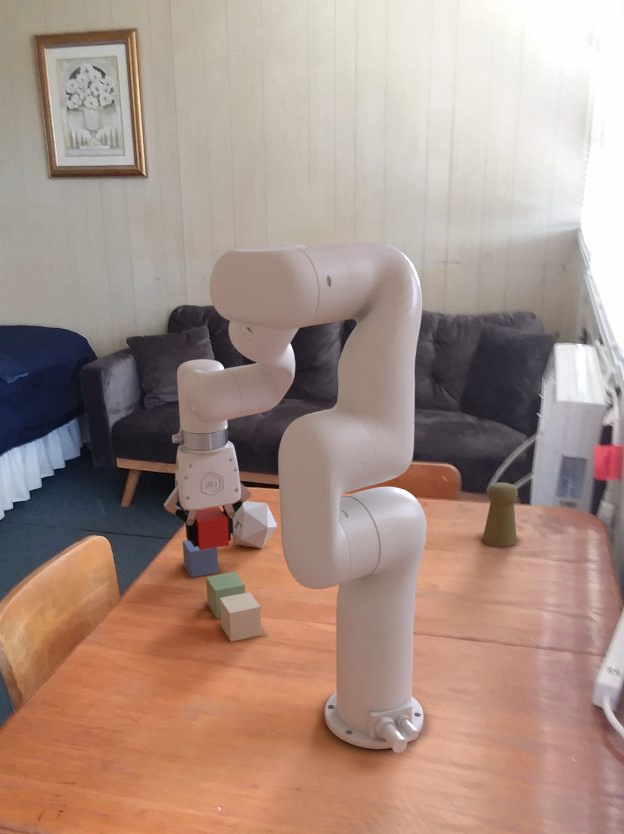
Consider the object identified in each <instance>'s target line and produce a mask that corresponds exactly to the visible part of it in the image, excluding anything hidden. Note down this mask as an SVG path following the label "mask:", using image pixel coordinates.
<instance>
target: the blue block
mask: <svg viewBox="0 0 624 834" xmlns="http://www.w3.org/2000/svg"><path fill="white" fill-rule="evenodd" d="M182 552H183V566H184V568H185V569H186V571H187V573H188V575H189V576H190V578H197V577H203V576H207V575H213V574H219V556H218V555H219V554H218V547H215V548H210V549H204V550H200V549H199V548H198V546H197V547H194V546H193V544H192V543H191V541H188V540H187V539H186V540H182Z"/></svg>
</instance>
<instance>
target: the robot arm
mask: <svg viewBox="0 0 624 834" xmlns="http://www.w3.org/2000/svg"><path fill="white" fill-rule="evenodd" d="M208 285H209V296H210V300H211V303H212V305H213V307H214V309H215V311H216V312H217V313H218V314H219V315H220V317H222V318H223V319H225V320H227V321H229V323H228V337H229V339H230V342H231V344H232V345H233V347H234V348H235V349H236V350H237V351H238V353H240V354H241V355H242V356H244V357H245V358H247V359H248V360H251V361H252V362H255V363H251V364H245V365H244V364H243V365H238V366H232V367H226V368H225V367H224V365H223V364H222V363H221V362H220V361H218V360H214V359H207V358H205V359H204V358H201V359H200V358H199V359H192V360H188V361H185V362H182V363H181V364H179V366H178V368H177V371H176V381H177V382H176V383H177V384H176V385H177V397H178V398H177V399H178V410H179V411H178V413H179V428H178V430H179V431H178V433H176V434H172V435H171V440H172V443H173V444H179V445H178V447H177V451H176V457H175V458H176V459H175V470H174V471H175V475H174V477H175V479H174V485H175V486H174V489H173V490H172V492H171V493H170V495H169V496H168V498H167V499H166V500H165V502H164V503H163V507H164V509H165V510H166V511H167V512H169V513H170V514H173V515H174V516H176V517H177V518H178V519H180V520H181V521H183V522H184V523H185V537H186V540H188V541H191V543H192V544H193V546H194V547H197V546H198V533H197V525H196V523H195V520H194V519H195V515H196V511H197V510H202V509H208V508H214V507H219V508H220V507H221V508H222V512H223V513H224V514H225V515H226V516H227V518H228V538H229V542H231V541H232V534H231V533H233V518H234V517H235V513H236V512H237V511H238V510H239V508H240V507H241V506H242V504H243V503H244V502H245V501H248V500H249V499H250V497H252V493H251V491H250V490H249V489H248V488H247V487H246V486H245V485H244V484H243V483H242V482H241V479H240V471H239V465H238V458H237V454H236V450H235V445H234V443H233V442H231V441H229V433H228V431H229V429H228V421H230V420H234V419H237V418H242V417H247V416H252V415H257V414H262V413H266V412H268V411H270V410H272V409H273V408H275V407H276V406H277V405H278V404H280V402H281V401H282V400H283V399H284V397H285V395H286V394H287V392H288V391H289V389H290V388H291V386H292V384H293V382H294V379H295V374H296V359H295V353H294V349H293V346H292V344H291V342H292V341H293V339H294V337H295V335H296V334H297V332H298V331H299V330H300V328H305V327H310V326H311V327H312V326H319V325H323V324H324V325H325V324H330V323H336V322H341V321H342V322H343V321H347V320H354V321H356V325H355V327H354V329H352V331H351V333H350V334H349V335H348V338H347V339H346V341H345V343H344V345H343V349H342V351H341V354H340V357H339V359H338V363H337V364H338V365H337V399H336V403H335V404H334V406H333V407H331V408H328V409H327V408H326V409H323V410H319V411H315V412H311V413H306V414H304V415H301V416H300V417H299V416H298V418H296V419H294V420H293V421H291V422H290V424H289V425H288V426H287V427H286V429H285V431H284V432H283V434H282V437H281V440H280V443H279V448H278V454H277V455H278V456H277V458H278V459H277V460H278V461H277V462H278V466H277V468H278V469H277V470H278V471H277V472H278V490H279V491H278V493H279V513H280V514H279V515H280V533H281V534H280V535H281V545H282V552H283V557H284V560H285V563H286V566H287V568H288V571H289V573H290V574H291V576H292V577H293V579H294V580H295V581H296V583H298V584H299V585H300V586H302V587H304V588H307V589H310V590H324V589H329V588H333V587H336V586H338V588H337V594H336V610H335V613H336V615H335V617H336V619H335V621H336V622H335V623H336V625H335V626H336V627H335V628H336V629H335V631H336V633H335V635H336V636H335V637H336V639H335V641H336V642H335V643H336V647H335V650H336V651H335V652H336V653H335V655H336V663H335V664H336V665H335V666H336V674H335V675H336V681H335V683H336V691H335V692H333V693H332V694H331V696H330V697H328V699H327V701H326V702H325V705H324V721H325V724H326V725H327V727H328V729H329V731H330V732H331V733H332V734H333V735H335V736H336V737H337V738H339V739H340V740H341V741H344V742H346V743H348V744H350V745H353V746H355V747H360V748H363V749H371V750H386V749H392V751H393V752H394V753H396V754H400V753H402V752H404V751H405V750H406V749H407V748H408V743H409V742H411V741H415V740H416V739H418V737H419V736H420V733H421V731H422V729H423V726H424V718H425V717H424V710H423V708H422V706H421V704H420V702H418V700H417V699H416V698H415V697H414V696H413V671H414V670H413V669H414V641H415V640H414V639H415V638H414V637H415V617H416V596H417V583H418V577H419V576H418V575H419V571H420V566H421V562H422V559H423V556H424V551H425V547H426V541H427V532H428V531H427V529H428V528H427V527H428V526H427V518H426V514H425V511H424V509H423V507H422V505H421V504H420V502H419V501H418V500H417V498H416V497H415V496H414V495H413V494H411V493H410V492H408V491H407V490H405V489H402V488H399V487H397V486H377V487H372V486H375V485H378V484H381V483H382V484H383V483H385V482H388V481H391V480H393V479H397V478H399V477H400V476H401V475H403V474H404V473H406V472H407V471H408V470H409V468H410V466H411V464H412V462H413V458H414V450H415V407H416V405H415V404H416V403H415V396H416V393H415V392H416V379H415V378H416V375H415V373H416V372H415V369H416V356H417V355H416V354H417V347H418V341H419V334H420V329H421V323H422V316H423V315H422V313H423V294H422V287H421V282H420V279H419V276H418V274H417V271H416V268H415V267H414V265H413V263H412V262H411V261H410V259H409V258H408V257H407V256H406V254H405V253H403V252H402V251H401V250H399V248H396V247H395V246H392V245H389V244H387V243H382V242H376V241H374V242H373V241H350V242H339V243H330V244H325V245H315V246H305V245H303V244H297V243H274V244H266V245H255V246H245V247H239V248H232V249H230V250H228V251H226V252H224V253H223V254H222V255H221V256H220V257H219V258H218V259H217V261H216V262H215V263H214V266H213V267H212V270H211V273H210V277H209V284H208ZM368 487H371V488H368ZM365 488H368V489H365ZM360 489H361V491H357V492H354V491H356V490H360ZM362 489H364V490H362ZM351 492H352V493H351ZM347 493H349V494H347ZM344 494H345V495H344ZM178 502H179V505H180V506H177V503H178Z"/></svg>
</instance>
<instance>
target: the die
mask: <svg viewBox="0 0 624 834" xmlns="http://www.w3.org/2000/svg"><path fill="white" fill-rule="evenodd" d="M277 528H278V525H277V521H276V520H275V518H274V515H273V514H272V512H271V509H270V507H269V504H268V503H266V502H260V501H259V502H258V501H252V500H251V501H250V500H246V501H245V502H244V503H243V504H242V506H241V507H240V508H239V510H238V511H237V512H236V513H235V517H234V518H233V533H231V537H232V538H233V541H234V542H235V545H236V546H242V547H249V548H257V549H263V548H264V547H265V546H266V544H267V543H268V541H269V539H270V538H271V537H272V535H273V534H274V532H275V531H276V530H277Z"/></svg>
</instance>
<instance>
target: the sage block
mask: <svg viewBox="0 0 624 834" xmlns="http://www.w3.org/2000/svg"><path fill="white" fill-rule="evenodd" d="M205 582H206V583H205V584H206V599H207V606H208V607H209V609H210V610H211V612H212V614H213V615H214V617H215V619H221V613H220V598H223V597H228V596H233V595H238V594H243V593H246V586H245V585H246V584H245V583H244V582H243V580H242V579H241V577H240V576H239V575H238V574H237V572H236V571H231V572H225V573H221V574H220V573H219V574H215V575H210V576H206V577H205Z"/></svg>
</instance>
